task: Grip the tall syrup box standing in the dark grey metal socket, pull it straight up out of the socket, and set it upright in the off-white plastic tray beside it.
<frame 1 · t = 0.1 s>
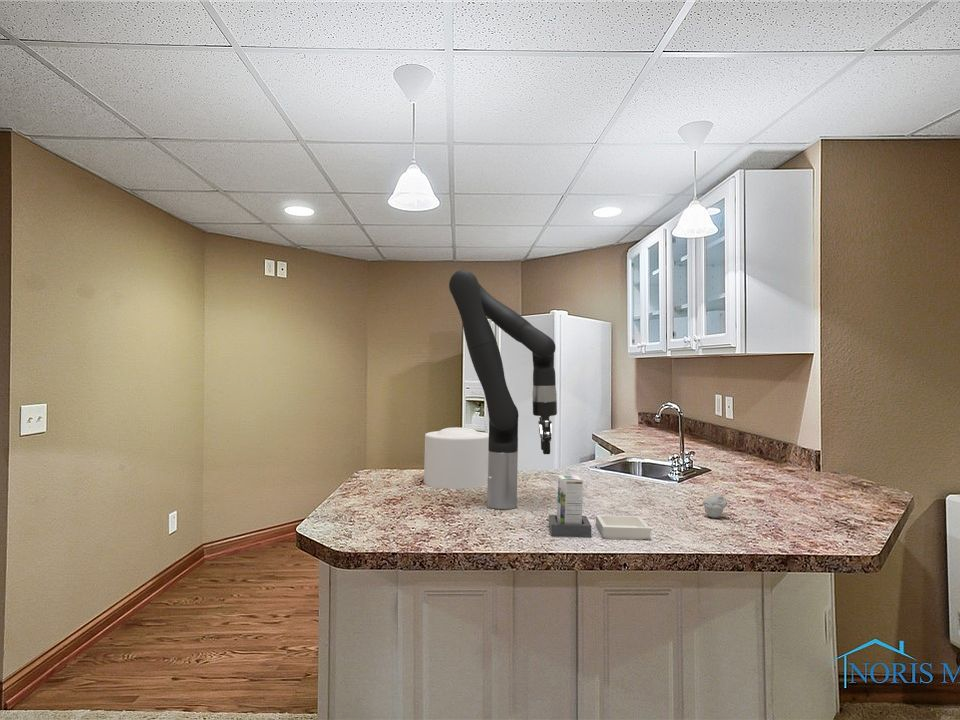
hand: (545, 452, 181), 17 cm above the countertop, tool pointing down, fingers open, 8 cm apart
frog figurine: (714, 518, 172), on the countertop
socket: (569, 531, 155), on the countertop
syrup box: (569, 532, 155), resting in socket
tray: (622, 532, 154), on the countertop
container: (457, 482, 218), on the countertop
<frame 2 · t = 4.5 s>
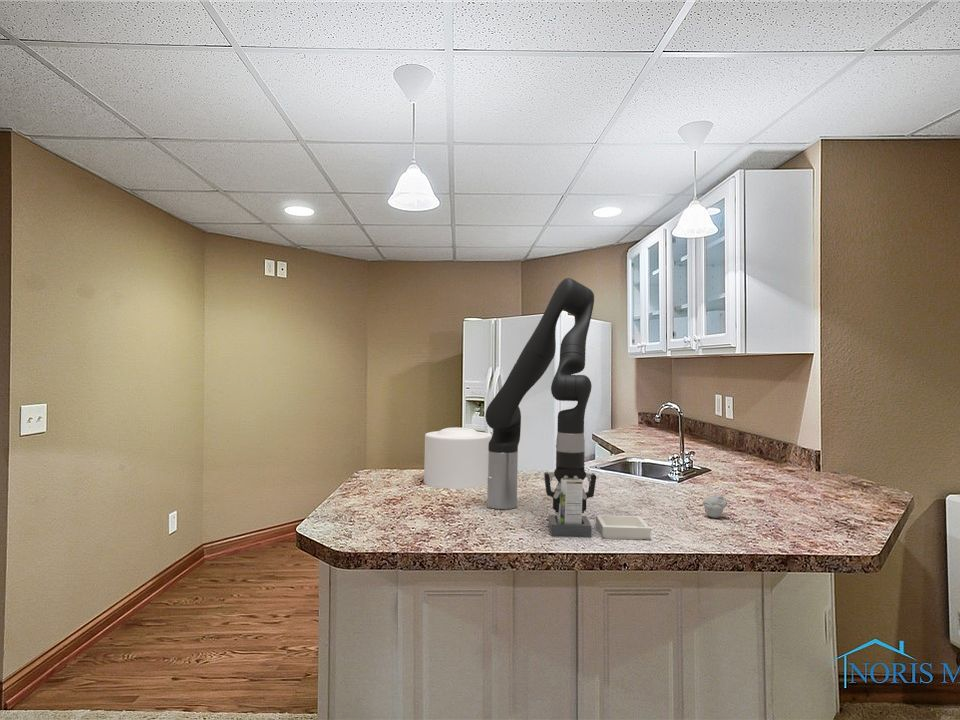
hand: (569, 512, 155), 5 cm above the countertop, tool pointing down, fingers closed on syrup box, 6 cm apart
syrup box: (569, 532, 155), resting in socket, touching gripper
everything else where it was.
when the fingers open (7 cm above the countertop, at t = 12.4 s): syrup box drops 2 cm, resting on tray.
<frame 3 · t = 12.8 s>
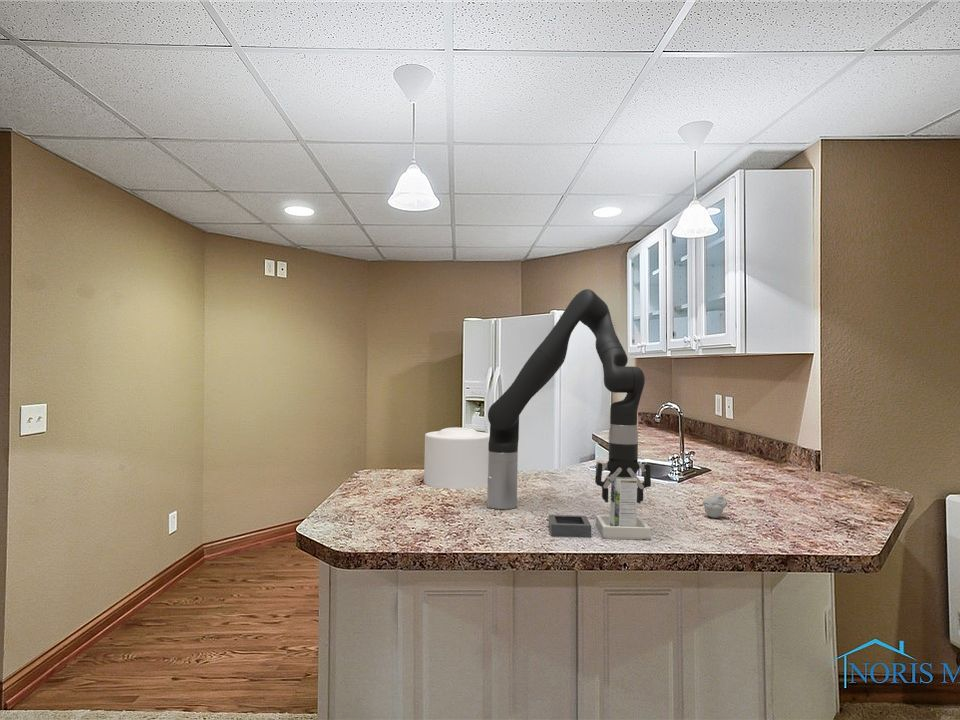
hand: (622, 502, 154), 8 cm above the countertop, tool pointing down, fingers open, 8 cm apart
syrup box: (623, 531, 154), resting on tray
everything else where it was.
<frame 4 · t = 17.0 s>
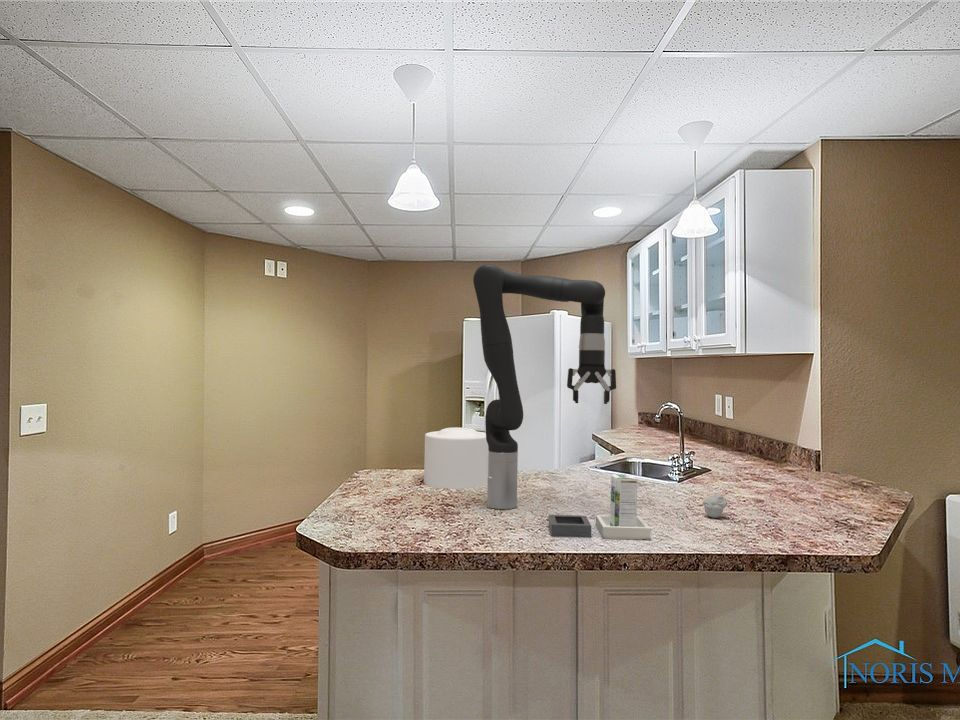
hand: (591, 403, 173), 33 cm above the countertop, tool pointing down, fingers open, 8 cm apart
nothing on the countertop moved.
at the end: syrup box 0.3 cm off-centre on the tray, point 0.4 cm above the tray's base; syrup box tilted 0°; the gripper is holding nothing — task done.
